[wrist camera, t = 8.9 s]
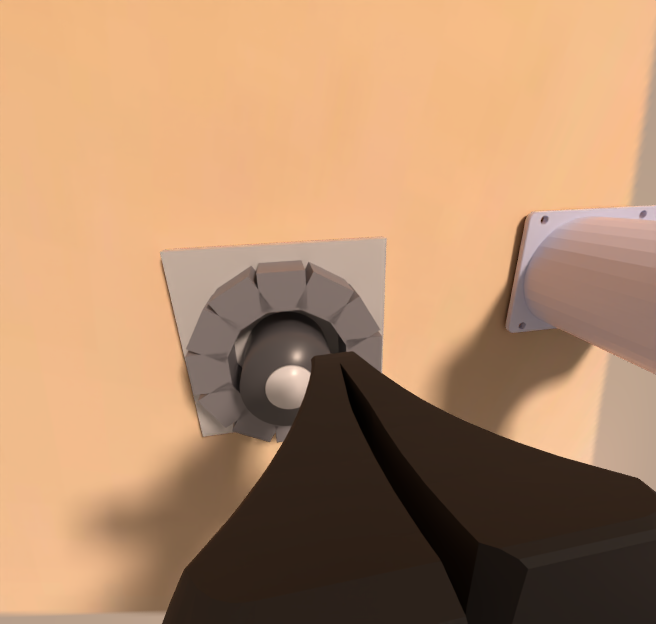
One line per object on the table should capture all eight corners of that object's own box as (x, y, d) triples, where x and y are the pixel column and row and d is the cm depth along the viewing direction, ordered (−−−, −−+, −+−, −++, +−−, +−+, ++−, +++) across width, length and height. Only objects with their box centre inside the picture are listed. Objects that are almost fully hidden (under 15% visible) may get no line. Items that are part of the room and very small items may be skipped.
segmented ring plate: (381, 236, 18) (403, 244, 15) (377, 404, 22) (392, 437, 19) (165, 249, 16) (140, 261, 13) (205, 428, 21) (194, 466, 18)
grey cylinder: (330, 313, 18) (345, 345, 15) (321, 382, 20) (333, 427, 16) (247, 309, 17) (240, 341, 14) (245, 382, 19) (238, 429, 15)
